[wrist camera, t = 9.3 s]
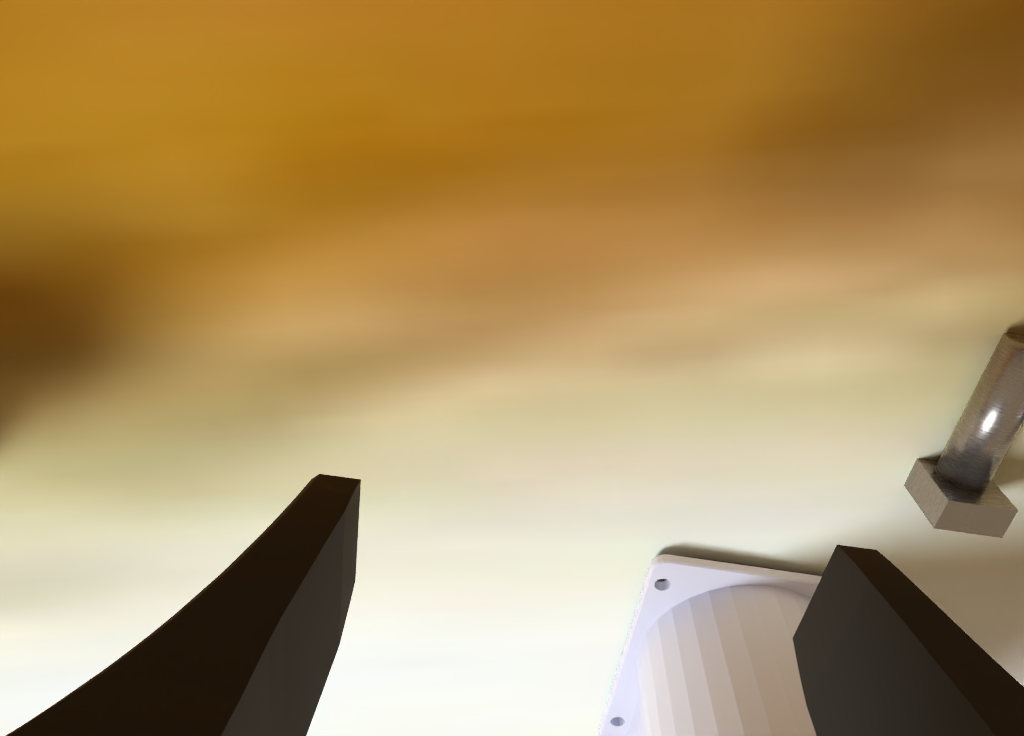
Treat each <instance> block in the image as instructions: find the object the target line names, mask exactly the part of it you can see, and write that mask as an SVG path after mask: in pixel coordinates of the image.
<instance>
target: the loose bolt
mask: <svg viewBox="0 0 1024 736" xmlns="http://www.w3.org/2000/svg"><path fill="white" fill-rule="evenodd" d="M1023 423H1024V335H1021V334H1015V333H1006V334H1003V335H1002V337H1001V339H1000V341H999V343H998V345H997V347H996V349H995V351H994V353H993V355H992V357H991V359H990V361H989V363H988V365H987V367H986V369H985V371H984V373H983V375H982V377H981V378H980V380H979V382H978V384H977V386H976V388H975V390H974V392H973V394H972V396H971V398H970V400H969V402H968V404H967V406H966V408H965V410H964V412H963V414H962V416H961V418H960V419H959V421H958V423H957V425H956V427H955V429H954V431H953V433H952V435H951V437H950V439H949V441H948V443H947V445H946V447H945V449H944V451H943V453H942V455H941V457H940V459H939V461H938V462H936V461H929V460H922V459H917V460H916V462H915V464H914V466H913V468H912V470H911V472H910V474H909V476H908V478H907V480H906V482H905V484H904V486H905V487H906V489H907V490H908V491H909V493H910V494H911V496H912V497H913V499H914V500H915V502H916V503H917V504H918V506H919V507H920V509H921V510H922V512H923V513H924V515H925V516H926V517H927V519H928V520H929V522H930V523H931V525H932V526H933V528H936V529H943V530H951V531H958V532H965V533H972V534H979V535H986V536H993V537H1000V538H1002V537H1003V535H1004V533H1005V532H1006V530H1007V528H1008V527H1009V525H1010V523H1011V522H1012V520H1013V518H1014V517H1015V515H1016V513H1017V512H1018V510H1017V509H1016V507H1015V506H1014V505H1013V504H1012V503H1011V502H1010V501H1009V499H1008V498H1007V497H1006V496H1005V495H1004V494H1003V492H1002V491H1001V490H1000V489H999V488H998V487H997V486H996V484H995V483H994V482H993V481H992V478H993V476H994V475H995V473H996V471H997V469H998V467H999V466H1000V464H1001V462H1002V460H1003V459H1004V457H1005V455H1006V453H1007V451H1008V450H1009V448H1010V446H1011V444H1012V443H1013V441H1014V439H1015V437H1016V435H1017V434H1018V432H1019V430H1020V428H1021V427H1022V425H1023Z"/></svg>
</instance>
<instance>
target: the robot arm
mask: <svg viewBox="0 0 1024 736" xmlns="http://www.w3.org/2000/svg"><path fill="white" fill-rule="evenodd" d="M360 483H361V480H360V479H352V478H345V477H338V476H330V475H323V474H319V475H317V476H316V477H314V478H313V479H311V481H310V482H309V483H308V484H307V485H306V486H305V488H304V489H303V490H302V491H301V492H300V493H299V494H298V496H297V497H296V498H295V499H294V500H293V501H292V502H291V503H290V505H289V506H288V507H287V508H286V509H285V510H284V511H283V512H282V513H281V514H280V515H279V517H278V518H277V519H276V520H275V521H274V522H273V523H272V524H271V525H270V526H269V527H268V528H267V529H266V530H265V531H264V532H263V533H262V534H261V535H260V536H259V537H258V538H257V539H256V540H255V541H254V542H253V543H252V544H251V545H250V546H249V547H248V548H247V549H246V550H245V551H244V552H243V553H242V554H241V555H240V556H239V557H238V558H237V559H236V560H235V561H234V562H233V563H232V564H231V565H230V566H229V567H228V568H227V569H226V570H224V571H223V572H222V573H221V574H220V575H219V576H218V577H217V578H216V579H215V580H214V581H212V582H211V583H210V584H209V585H208V586H207V587H206V588H204V589H203V590H202V591H201V592H200V593H199V594H198V595H197V596H195V597H194V598H193V599H192V600H191V601H190V602H189V603H187V604H186V605H185V606H184V607H183V608H182V609H181V610H180V611H178V612H177V613H176V614H175V615H174V616H173V617H171V618H170V619H169V620H168V621H166V622H165V623H164V624H163V625H162V626H160V627H159V628H158V629H157V630H155V631H154V632H153V633H152V634H150V635H149V636H148V637H147V638H145V639H144V640H143V641H142V642H140V643H139V644H138V645H136V646H135V647H134V648H133V649H131V650H130V651H129V652H127V653H126V654H125V655H123V656H122V657H121V658H119V659H118V660H117V661H115V662H114V663H113V664H111V665H110V666H109V667H107V668H106V669H105V670H103V671H102V672H100V673H99V674H97V675H96V676H95V677H93V678H92V679H90V680H89V681H87V682H86V683H85V684H83V685H82V686H80V687H79V688H77V689H76V690H74V691H73V692H72V693H70V694H69V695H67V696H66V697H64V698H63V699H61V700H60V701H59V702H57V703H56V704H54V705H53V706H51V707H50V708H48V709H47V710H45V711H44V712H42V713H41V714H39V715H38V716H36V717H35V718H33V719H32V720H30V721H29V722H27V723H25V724H24V725H22V726H21V727H19V728H18V729H16V730H14V731H13V732H11V733H10V734H8V735H6V736H306V734H307V732H308V729H309V726H310V724H311V721H312V718H313V715H314V713H315V710H316V707H317V705H318V702H319V699H320V697H321V694H322V691H323V688H324V686H325V683H326V680H327V677H328V675H329V672H330V669H331V666H332V664H333V661H334V658H335V655H336V652H337V650H338V647H339V644H340V640H341V636H342V632H343V628H344V624H345V620H346V616H347V612H348V608H349V604H350V600H351V596H352V592H353V587H354V583H355V574H356V556H357V538H358V519H359V501H360ZM659 579H667V580H665V581H663V582H658V581H657V580H659ZM599 736H1024V687H1023V686H1022V685H1021V684H1020V683H1019V682H1017V681H1016V680H1015V679H1014V678H1013V677H1012V676H1011V675H1010V674H1009V673H1008V672H1007V671H1005V670H1004V669H1003V668H1002V667H1001V666H1000V665H999V664H998V663H997V662H996V661H995V660H994V659H992V658H991V657H990V656H989V655H988V654H987V653H986V652H985V651H984V650H983V649H982V648H981V647H980V646H979V645H978V644H976V643H975V642H974V641H973V640H972V639H971V638H970V637H969V636H968V635H967V634H966V633H965V632H964V631H963V630H962V629H961V628H960V627H959V626H958V625H957V624H955V623H954V622H953V621H952V620H951V619H950V618H949V617H948V616H947V615H946V614H945V613H944V612H943V611H942V610H941V609H940V608H939V607H938V606H937V605H936V604H935V603H934V602H933V601H931V600H930V599H929V598H928V597H927V596H926V595H925V594H924V593H923V592H922V591H921V590H920V589H919V588H918V587H917V586H916V585H915V584H914V583H913V582H912V581H910V580H909V579H908V578H907V577H906V576H905V575H904V574H903V573H902V572H901V571H900V570H899V569H898V568H896V567H895V566H894V565H893V564H892V563H891V562H890V561H889V560H887V559H886V558H885V557H884V556H883V555H882V554H880V553H879V552H878V551H877V550H872V549H864V548H857V547H850V546H842V545H837V546H836V548H835V550H834V552H833V554H832V557H831V559H830V561H829V563H828V565H827V567H826V569H825V571H824V573H823V575H822V576H816V575H809V574H802V573H795V572H788V571H781V570H774V569H767V568H760V567H753V566H746V565H739V564H732V563H725V562H718V561H711V560H704V559H697V558H690V557H683V556H676V555H669V554H665V555H659V556H656V557H655V558H654V559H652V561H651V562H650V564H649V568H648V571H647V574H646V577H645V581H644V584H643V587H642V590H641V594H640V597H639V600H638V603H637V606H636V610H635V613H634V616H633V619H632V623H631V626H630V629H629V632H628V635H627V639H626V642H625V645H624V648H623V652H622V655H621V658H620V661H619V664H618V668H617V671H616V674H615V677H614V681H613V684H612V687H611V690H610V693H609V697H608V700H607V703H606V706H605V710H604V713H603V716H602V719H601V723H600V726H599Z"/></svg>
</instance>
